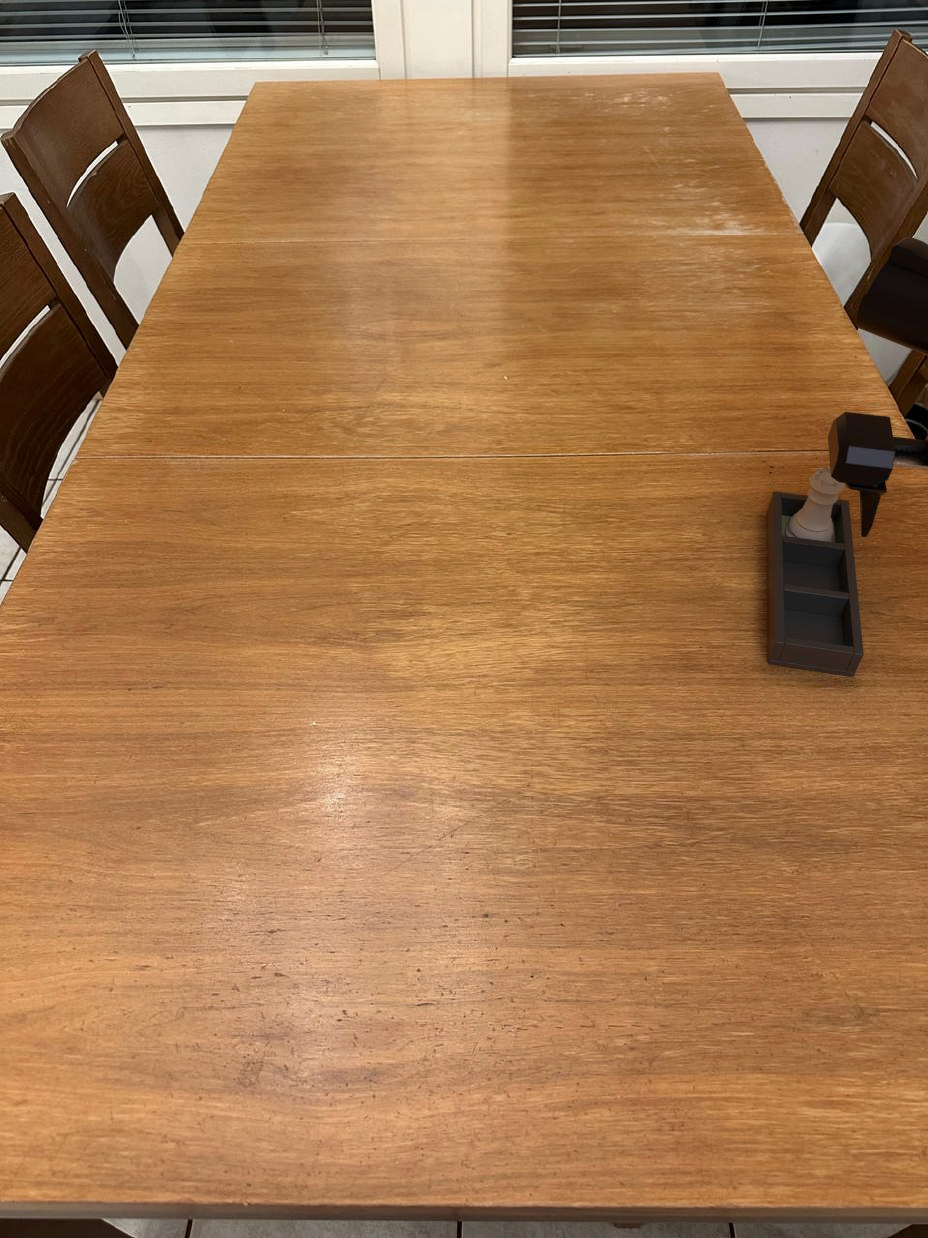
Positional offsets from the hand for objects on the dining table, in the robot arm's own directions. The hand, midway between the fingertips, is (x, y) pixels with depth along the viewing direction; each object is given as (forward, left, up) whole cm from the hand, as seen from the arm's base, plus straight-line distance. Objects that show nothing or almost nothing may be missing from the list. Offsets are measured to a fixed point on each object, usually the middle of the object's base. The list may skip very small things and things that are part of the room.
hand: (921, 541), depth 78 cm
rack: (+6, -5, -12) cm, 14 cm away
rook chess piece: (+6, -11, -11) cm, 17 cm away
